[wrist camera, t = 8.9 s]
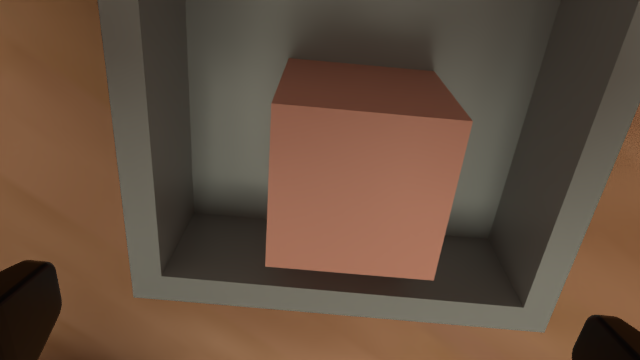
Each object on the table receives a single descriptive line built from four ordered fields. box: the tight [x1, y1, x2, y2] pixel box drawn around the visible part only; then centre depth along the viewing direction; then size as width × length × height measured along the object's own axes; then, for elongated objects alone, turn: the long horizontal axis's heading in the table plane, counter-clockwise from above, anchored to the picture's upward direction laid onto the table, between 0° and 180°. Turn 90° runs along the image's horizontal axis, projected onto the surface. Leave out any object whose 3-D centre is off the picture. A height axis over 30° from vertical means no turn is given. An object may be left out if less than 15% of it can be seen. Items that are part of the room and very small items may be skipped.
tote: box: [98, 0, 640, 332], centre depth 14 cm, size 18×14×5 cm
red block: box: [265, 58, 473, 281], centre depth 15 cm, size 5×5×5 cm
